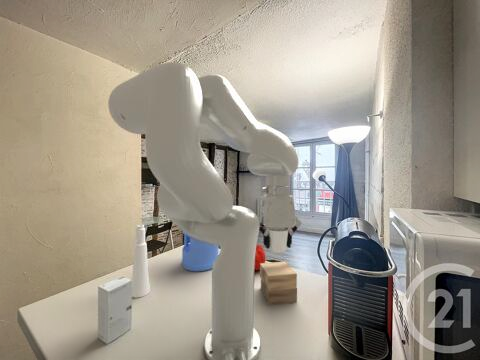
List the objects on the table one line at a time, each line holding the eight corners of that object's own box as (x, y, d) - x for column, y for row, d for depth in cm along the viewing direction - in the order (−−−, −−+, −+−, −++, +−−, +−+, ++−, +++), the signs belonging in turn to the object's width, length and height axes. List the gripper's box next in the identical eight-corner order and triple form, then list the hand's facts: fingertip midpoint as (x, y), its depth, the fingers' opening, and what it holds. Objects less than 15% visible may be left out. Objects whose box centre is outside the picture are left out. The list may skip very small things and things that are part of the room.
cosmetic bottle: (144, 285, 71) (144, 222, 70) (154, 291, 67) (154, 225, 67) (126, 293, 66) (126, 225, 65) (136, 300, 62) (136, 228, 62)
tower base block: (296, 302, 62) (297, 288, 62) (268, 305, 61) (268, 290, 61) (285, 287, 71) (285, 274, 71) (260, 289, 70) (260, 276, 70)
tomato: (249, 276, 78) (249, 253, 78) (235, 264, 88) (235, 243, 88) (271, 271, 83) (272, 249, 82) (256, 260, 93) (256, 240, 93)
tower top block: (296, 288, 62) (296, 273, 62) (268, 291, 61) (268, 276, 61) (284, 274, 71) (285, 261, 71) (259, 276, 70) (260, 263, 70)
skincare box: (107, 345, 46) (107, 292, 46) (96, 337, 48) (96, 286, 48) (133, 327, 51) (133, 279, 51) (122, 321, 53) (122, 275, 53)
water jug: (221, 257, 96) (222, 198, 95) (214, 273, 80) (214, 202, 80) (189, 255, 97) (189, 197, 97) (175, 271, 82) (176, 201, 81)
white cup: (291, 253, 63) (292, 230, 63) (270, 254, 62) (270, 231, 62) (283, 245, 70) (283, 225, 70) (264, 246, 69) (264, 225, 69)
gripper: (253, 192, 61) (253, 252, 61) (309, 192, 63) (308, 250, 63) (249, 190, 68) (249, 243, 69) (299, 190, 70) (298, 242, 71)
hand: (277, 246), depth 66 cm, fingers closed on white cup, 6 cm apart
